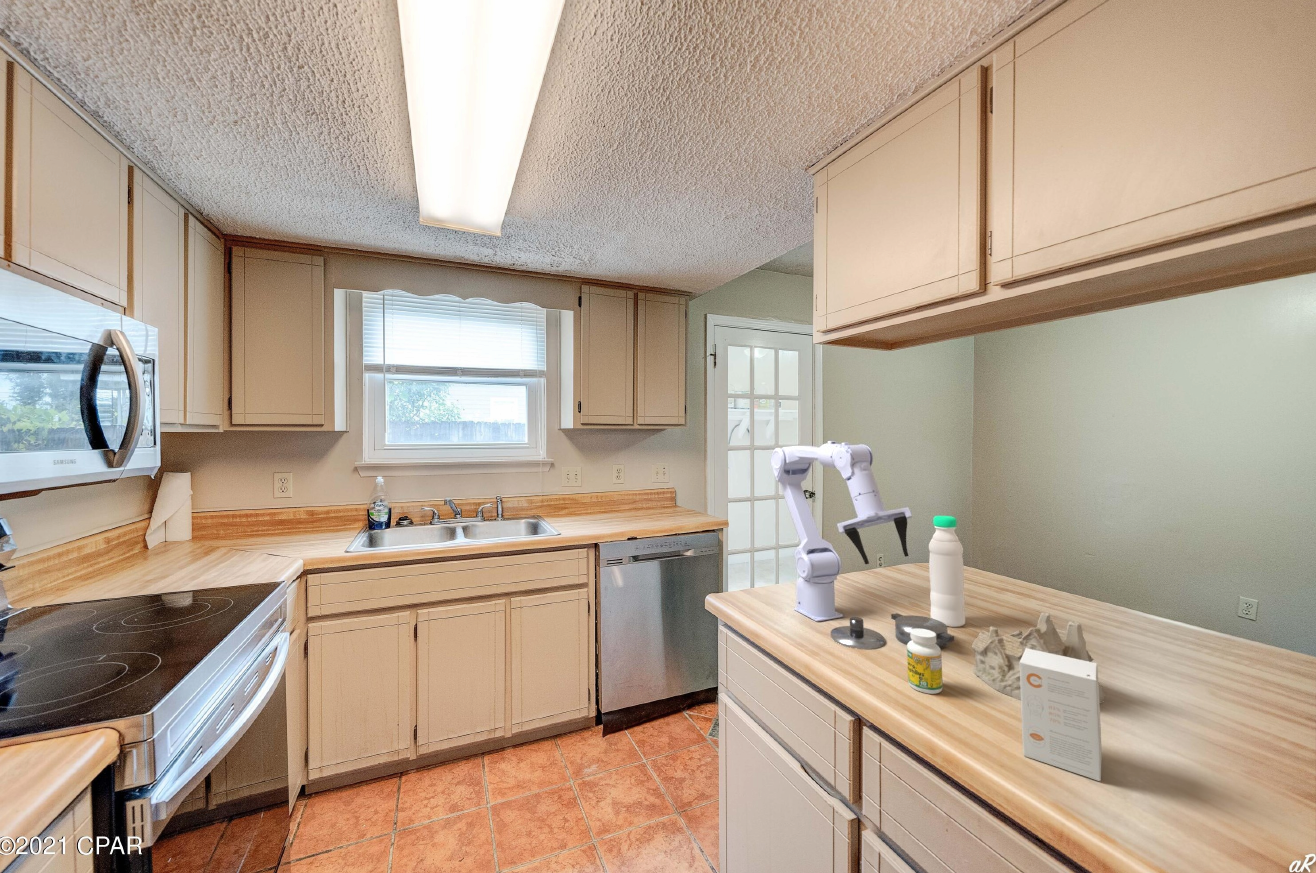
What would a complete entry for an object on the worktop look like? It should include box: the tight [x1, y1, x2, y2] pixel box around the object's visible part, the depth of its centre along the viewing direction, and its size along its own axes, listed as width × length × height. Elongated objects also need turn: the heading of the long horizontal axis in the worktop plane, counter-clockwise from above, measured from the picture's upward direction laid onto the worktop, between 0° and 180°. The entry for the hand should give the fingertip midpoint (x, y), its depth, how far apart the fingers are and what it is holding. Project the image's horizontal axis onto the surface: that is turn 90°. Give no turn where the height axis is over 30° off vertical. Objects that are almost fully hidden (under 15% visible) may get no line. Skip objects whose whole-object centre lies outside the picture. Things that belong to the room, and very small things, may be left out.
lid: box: [830, 616, 886, 650], centre depth 107 cm, size 11×11×5 cm
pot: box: [890, 612, 955, 650], centre depth 105 cm, size 14×10×4 cm
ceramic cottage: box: [971, 612, 1106, 704], centre depth 86 cm, size 16×16×15 cm
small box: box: [1019, 648, 1103, 782], centre depth 67 cm, size 8×6×13 cm
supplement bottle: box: [906, 629, 944, 695], centre depth 86 cm, size 5×5×10 cm
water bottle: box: [928, 515, 966, 628], centre depth 115 cm, size 7×7×25 cm
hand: (886, 560), depth 99 cm, fingers open, 7 cm apart
